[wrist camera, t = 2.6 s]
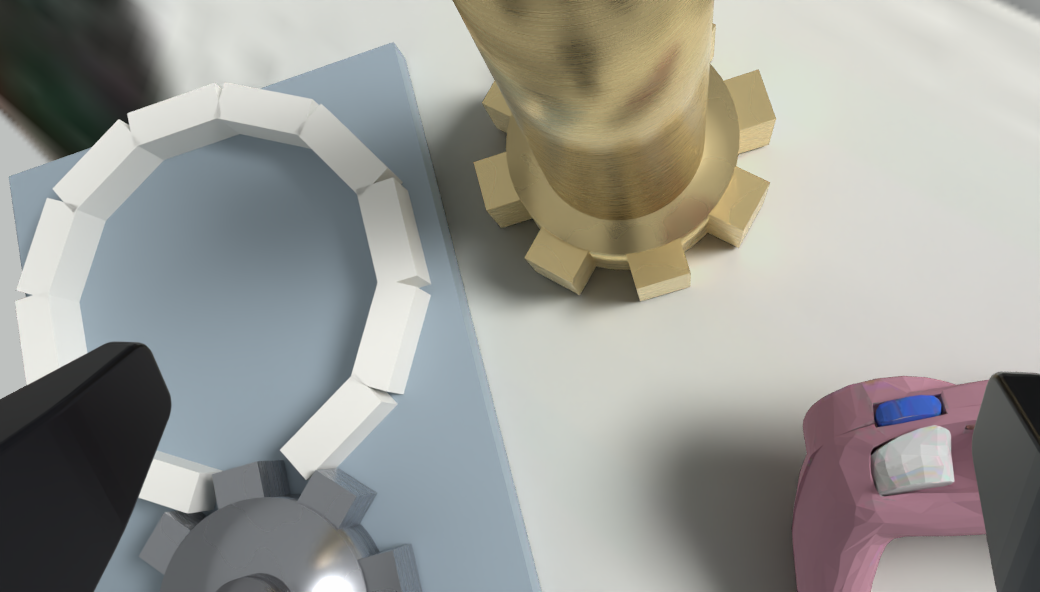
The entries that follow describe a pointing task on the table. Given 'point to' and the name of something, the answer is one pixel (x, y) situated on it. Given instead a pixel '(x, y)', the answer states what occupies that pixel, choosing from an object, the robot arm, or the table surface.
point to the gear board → (282, 309)
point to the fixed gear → (278, 538)
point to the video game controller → (883, 476)
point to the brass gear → (616, 134)
